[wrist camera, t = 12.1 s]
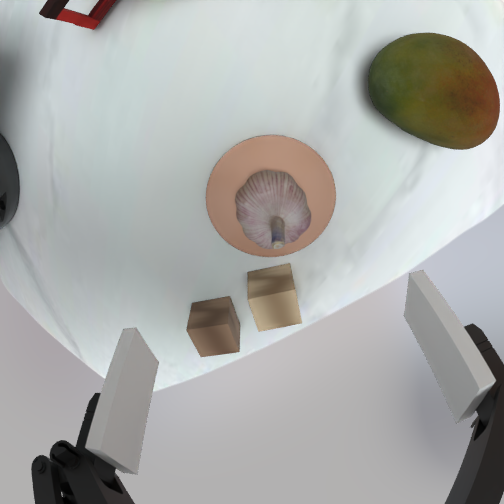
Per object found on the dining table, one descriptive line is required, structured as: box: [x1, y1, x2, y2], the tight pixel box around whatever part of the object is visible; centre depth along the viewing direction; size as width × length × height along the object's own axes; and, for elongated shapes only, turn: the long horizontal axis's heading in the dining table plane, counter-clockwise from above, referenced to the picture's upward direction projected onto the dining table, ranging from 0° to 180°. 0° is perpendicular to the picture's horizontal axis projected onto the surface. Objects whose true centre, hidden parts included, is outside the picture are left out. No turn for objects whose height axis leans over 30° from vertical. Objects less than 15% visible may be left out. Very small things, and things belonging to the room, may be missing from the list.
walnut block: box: [186, 296, 240, 357], centre depth 37 cm, size 5×5×5 cm
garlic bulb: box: [235, 170, 311, 249], centre depth 26 cm, size 8×7×8 cm
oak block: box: [248, 263, 302, 332], centre depth 34 cm, size 5×5×5 cm
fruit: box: [368, 33, 500, 150], centre depth 20 cm, size 12×13×10 cm
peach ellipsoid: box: [206, 135, 336, 257], centre depth 30 cm, size 13×13×1 cm
